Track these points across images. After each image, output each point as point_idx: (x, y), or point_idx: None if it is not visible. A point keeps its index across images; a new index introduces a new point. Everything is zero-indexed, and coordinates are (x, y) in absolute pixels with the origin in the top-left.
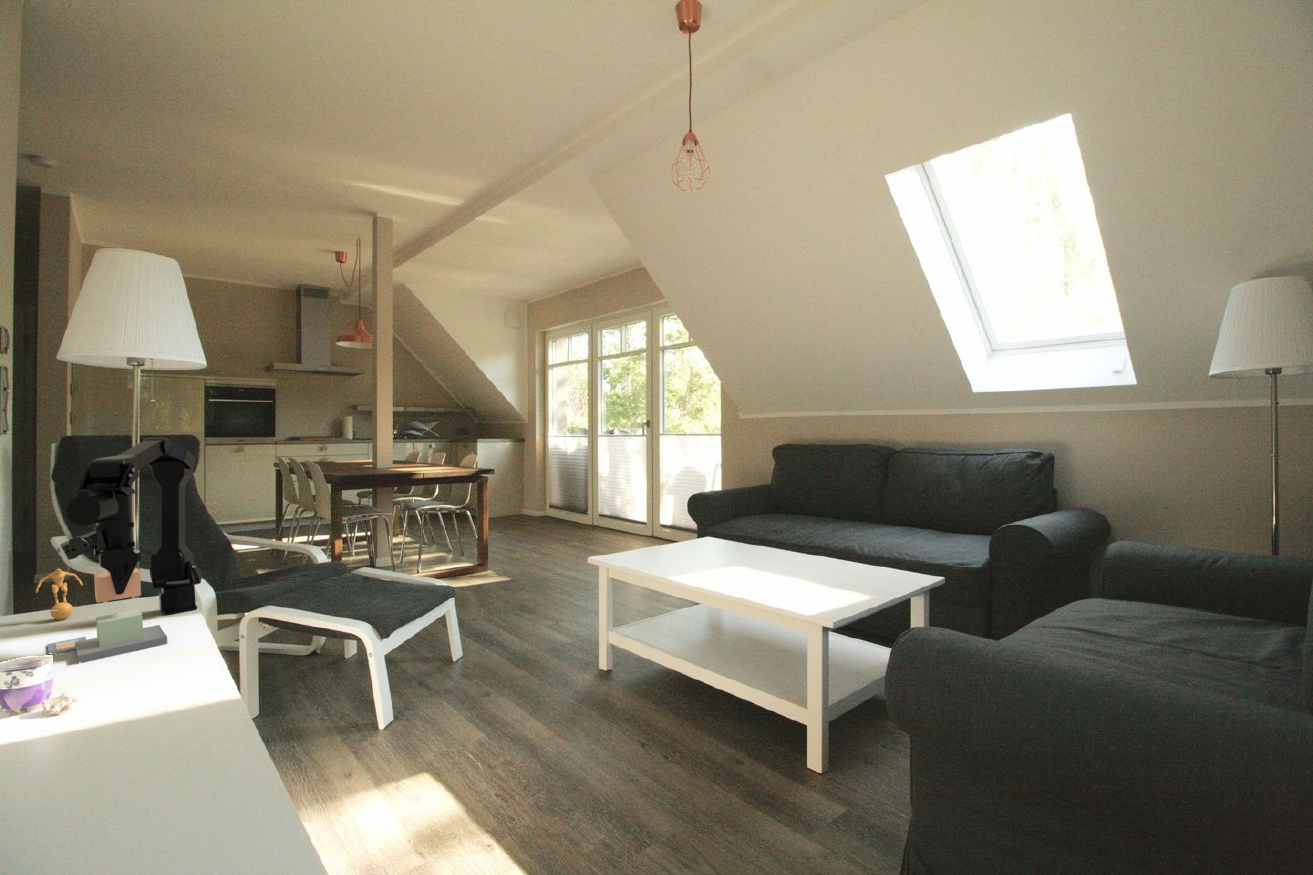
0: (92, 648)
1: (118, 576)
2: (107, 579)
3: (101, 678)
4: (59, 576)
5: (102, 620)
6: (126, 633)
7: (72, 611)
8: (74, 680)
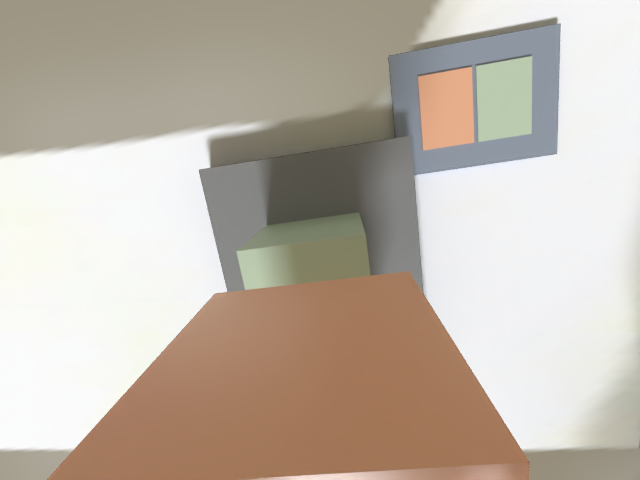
0: (265, 204)
1: None
2: None
3: (25, 240)
4: None
5: (272, 265)
6: None
7: None
8: (42, 177)
